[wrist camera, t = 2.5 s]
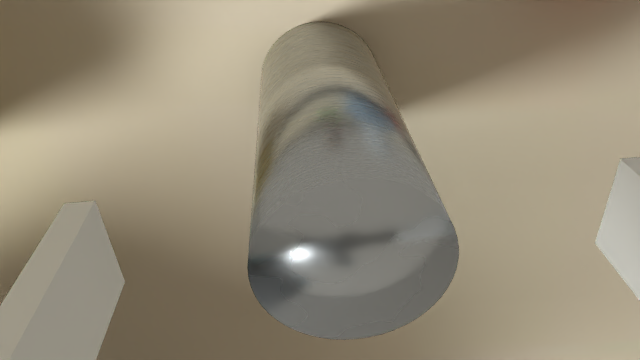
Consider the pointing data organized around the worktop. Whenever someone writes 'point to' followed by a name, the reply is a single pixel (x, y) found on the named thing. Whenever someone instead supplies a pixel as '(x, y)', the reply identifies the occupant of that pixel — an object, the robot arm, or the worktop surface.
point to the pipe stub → (341, 195)
